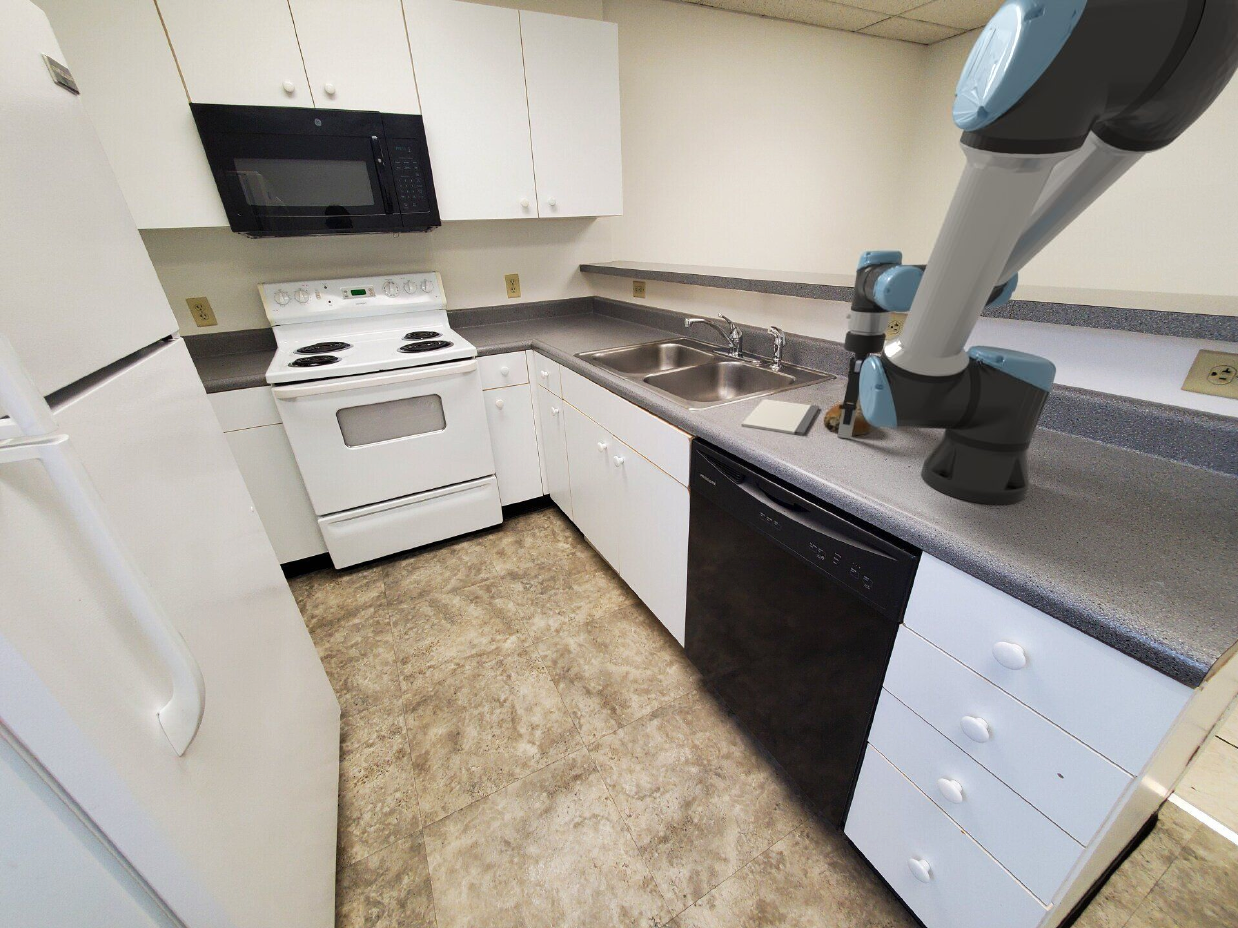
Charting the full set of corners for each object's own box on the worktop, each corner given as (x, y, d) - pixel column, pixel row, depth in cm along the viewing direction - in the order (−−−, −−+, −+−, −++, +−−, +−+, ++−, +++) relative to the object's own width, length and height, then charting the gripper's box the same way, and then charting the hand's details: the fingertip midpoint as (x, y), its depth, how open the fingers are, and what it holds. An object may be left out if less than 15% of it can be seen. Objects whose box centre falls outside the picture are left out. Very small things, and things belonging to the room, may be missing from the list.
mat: (803, 435, 105) (803, 432, 105) (741, 425, 112) (741, 423, 111) (818, 408, 121) (819, 405, 120) (763, 401, 127) (763, 398, 127)
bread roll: (867, 451, 106) (890, 420, 102) (828, 434, 104) (850, 402, 101) (848, 434, 114) (869, 405, 111) (812, 418, 113) (832, 388, 110)
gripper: (853, 321, 110) (837, 408, 120) (838, 341, 91) (821, 443, 101) (889, 323, 107) (870, 412, 116) (882, 344, 88) (860, 449, 97)
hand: (847, 427), depth 109 cm, fingers open, 12 cm apart
